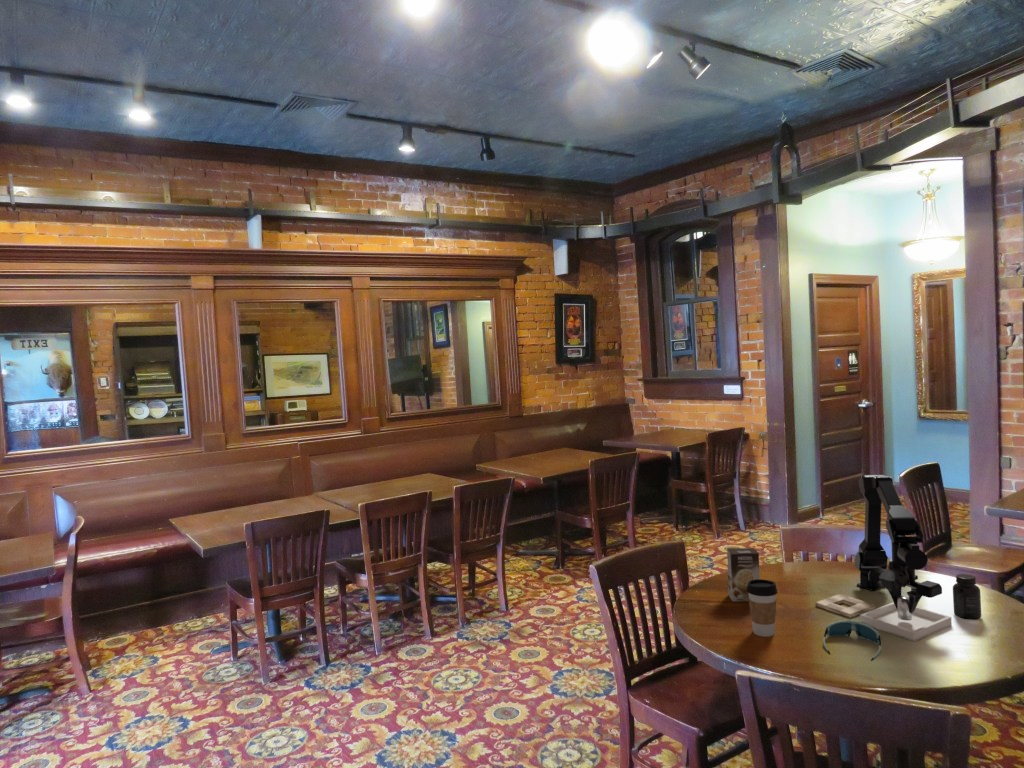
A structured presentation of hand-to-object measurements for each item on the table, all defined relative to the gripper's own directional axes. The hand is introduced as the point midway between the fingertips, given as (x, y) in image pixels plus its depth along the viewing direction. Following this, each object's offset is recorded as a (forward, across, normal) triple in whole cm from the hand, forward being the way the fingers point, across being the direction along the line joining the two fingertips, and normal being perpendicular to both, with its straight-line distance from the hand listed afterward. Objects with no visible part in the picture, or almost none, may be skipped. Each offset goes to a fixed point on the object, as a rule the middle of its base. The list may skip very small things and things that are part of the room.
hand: (904, 610), depth 199 cm
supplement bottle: (+4, +7, +19) cm, 21 cm away
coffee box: (+4, -42, -20) cm, 47 cm away
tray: (+4, 0, 0) cm, 4 cm away
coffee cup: (+4, -20, -36) cm, 41 cm away
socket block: (+4, -18, -2) cm, 18 cm away
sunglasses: (+5, 0, -24) cm, 25 cm away
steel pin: (+2, 0, 0) cm, 2 cm away
